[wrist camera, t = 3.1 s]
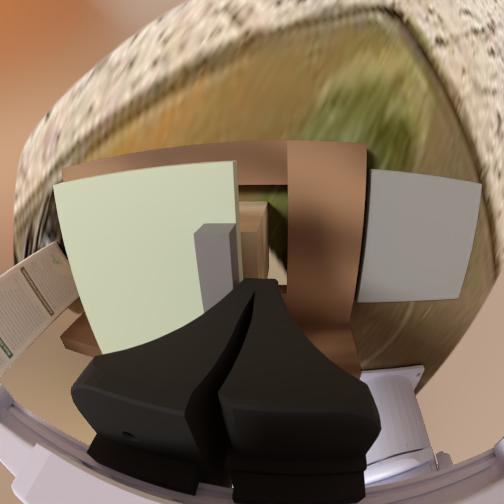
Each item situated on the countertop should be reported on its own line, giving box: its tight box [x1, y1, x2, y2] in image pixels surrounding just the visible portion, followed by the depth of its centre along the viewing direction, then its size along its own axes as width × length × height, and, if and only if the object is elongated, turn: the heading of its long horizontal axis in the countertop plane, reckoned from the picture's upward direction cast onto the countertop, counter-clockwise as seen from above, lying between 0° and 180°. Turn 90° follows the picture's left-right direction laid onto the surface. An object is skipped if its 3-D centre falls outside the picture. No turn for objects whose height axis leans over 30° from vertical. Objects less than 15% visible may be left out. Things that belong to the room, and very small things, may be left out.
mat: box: [356, 169, 482, 302], centre depth 16 cm, size 9×9×1 cm
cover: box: [53, 161, 243, 354], centre depth 12 cm, size 12×9×2 cm
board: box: [60, 140, 367, 380], centre depth 15 cm, size 13×21×6 cm, turn 92°
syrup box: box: [0, 241, 80, 378], centre depth 15 cm, size 6×6×14 cm
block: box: [239, 202, 269, 279], centre depth 15 cm, size 4×4×6 cm
